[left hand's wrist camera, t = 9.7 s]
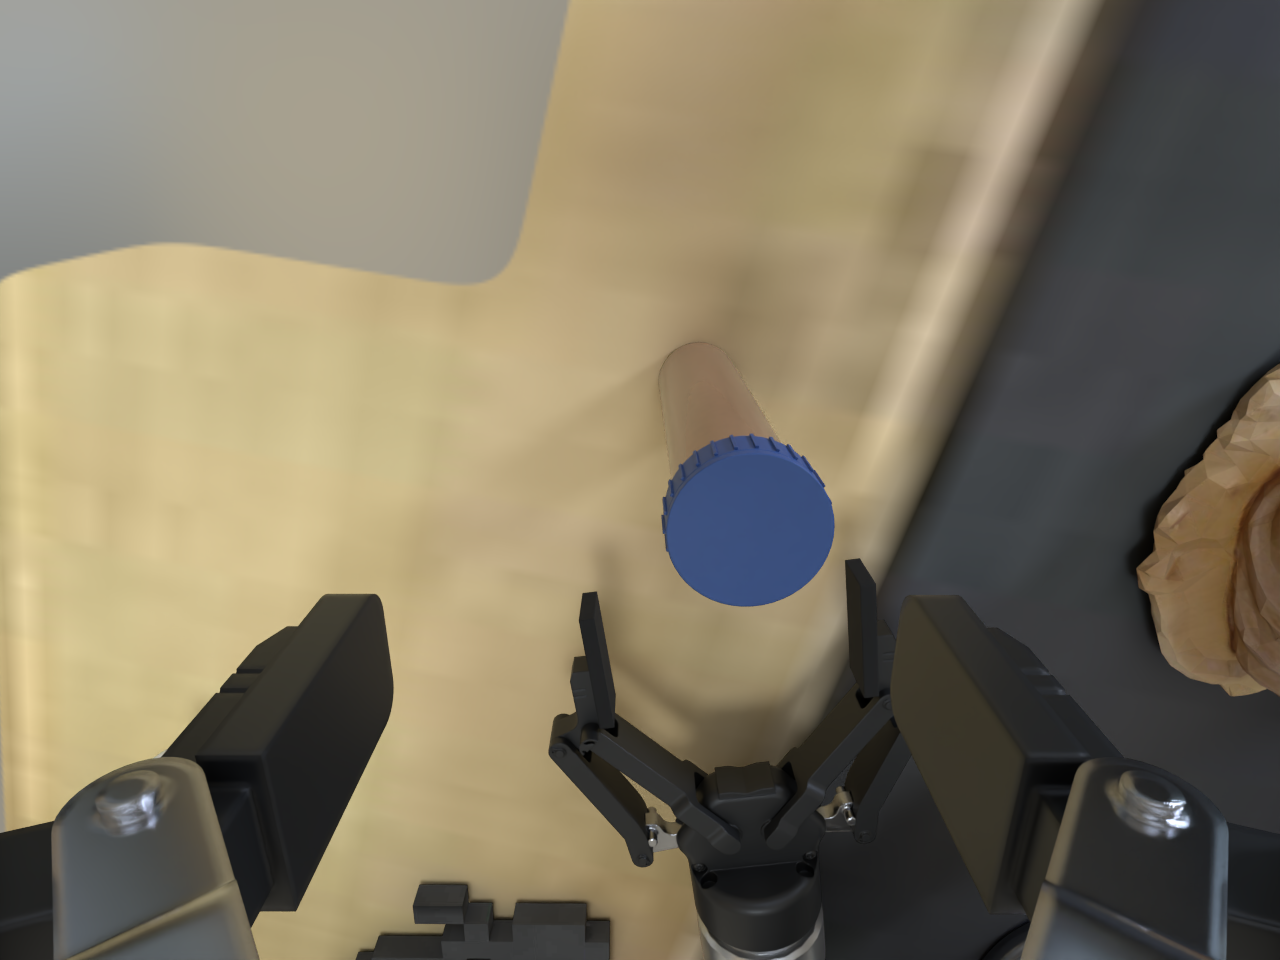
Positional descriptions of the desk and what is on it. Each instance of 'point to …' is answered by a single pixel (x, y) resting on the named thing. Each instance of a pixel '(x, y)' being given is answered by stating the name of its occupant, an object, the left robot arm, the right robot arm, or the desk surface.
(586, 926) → the abstract sculpture
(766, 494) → the lid
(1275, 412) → the sculpture
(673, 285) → the desk surface
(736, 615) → the desk surface
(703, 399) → the brown cylindrical tube
